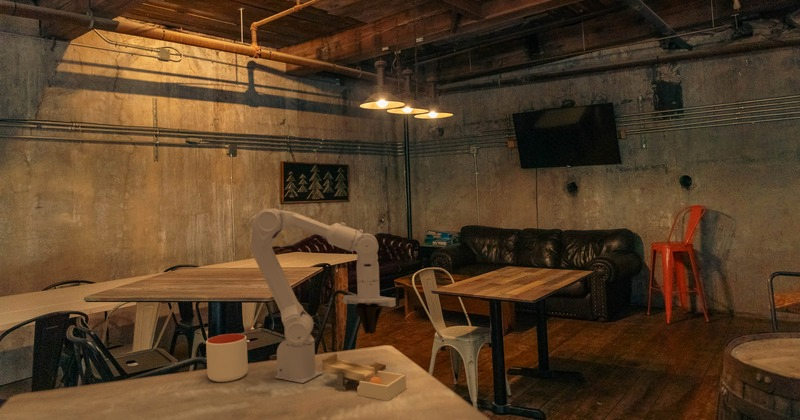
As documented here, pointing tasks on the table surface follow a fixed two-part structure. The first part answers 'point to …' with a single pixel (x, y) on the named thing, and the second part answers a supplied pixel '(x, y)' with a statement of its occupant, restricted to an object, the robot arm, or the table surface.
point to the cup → (226, 357)
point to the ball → (375, 380)
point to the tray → (383, 386)
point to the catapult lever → (350, 368)
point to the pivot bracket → (344, 382)
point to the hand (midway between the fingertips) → (370, 332)
